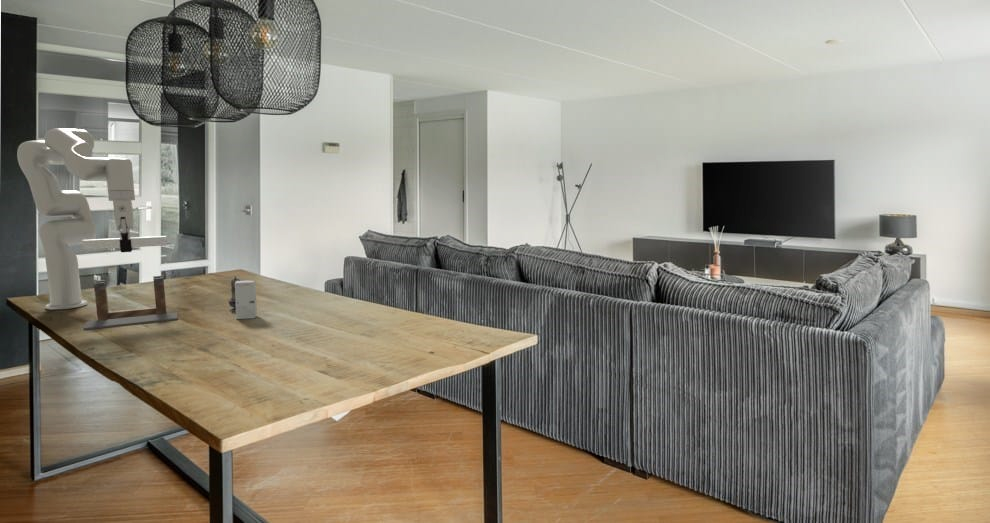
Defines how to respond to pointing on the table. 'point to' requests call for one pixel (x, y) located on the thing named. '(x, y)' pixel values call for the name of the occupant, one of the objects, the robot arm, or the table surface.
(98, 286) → the rack
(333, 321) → the table surface
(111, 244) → the rail
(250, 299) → the skincare box
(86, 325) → the mat
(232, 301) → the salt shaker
